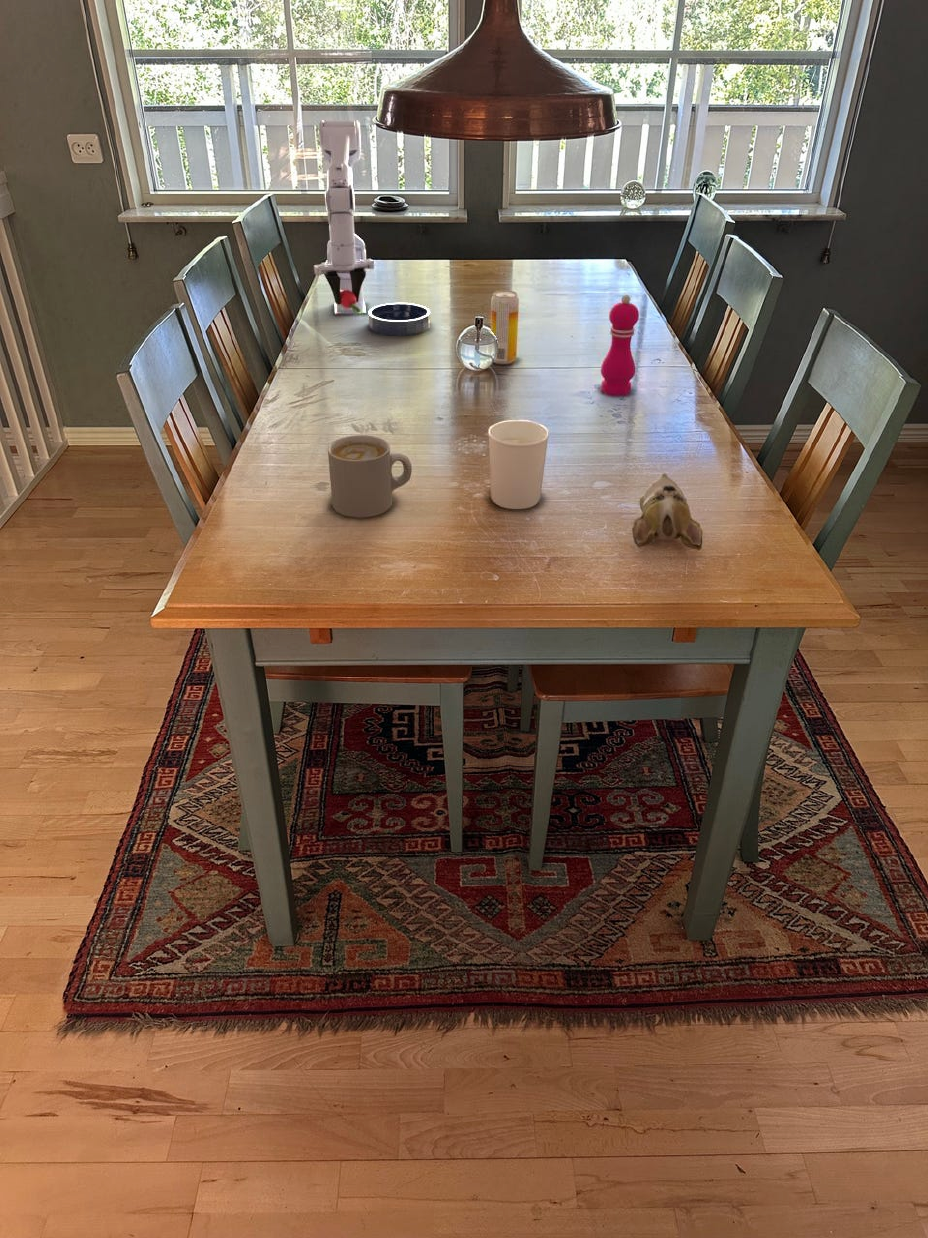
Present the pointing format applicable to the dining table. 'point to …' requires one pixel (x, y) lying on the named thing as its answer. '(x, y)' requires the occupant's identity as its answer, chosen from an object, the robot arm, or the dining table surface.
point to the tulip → (349, 301)
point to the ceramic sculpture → (666, 516)
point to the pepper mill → (620, 349)
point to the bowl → (399, 319)
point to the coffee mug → (364, 475)
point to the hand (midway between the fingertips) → (346, 302)
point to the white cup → (517, 462)
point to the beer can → (505, 324)
